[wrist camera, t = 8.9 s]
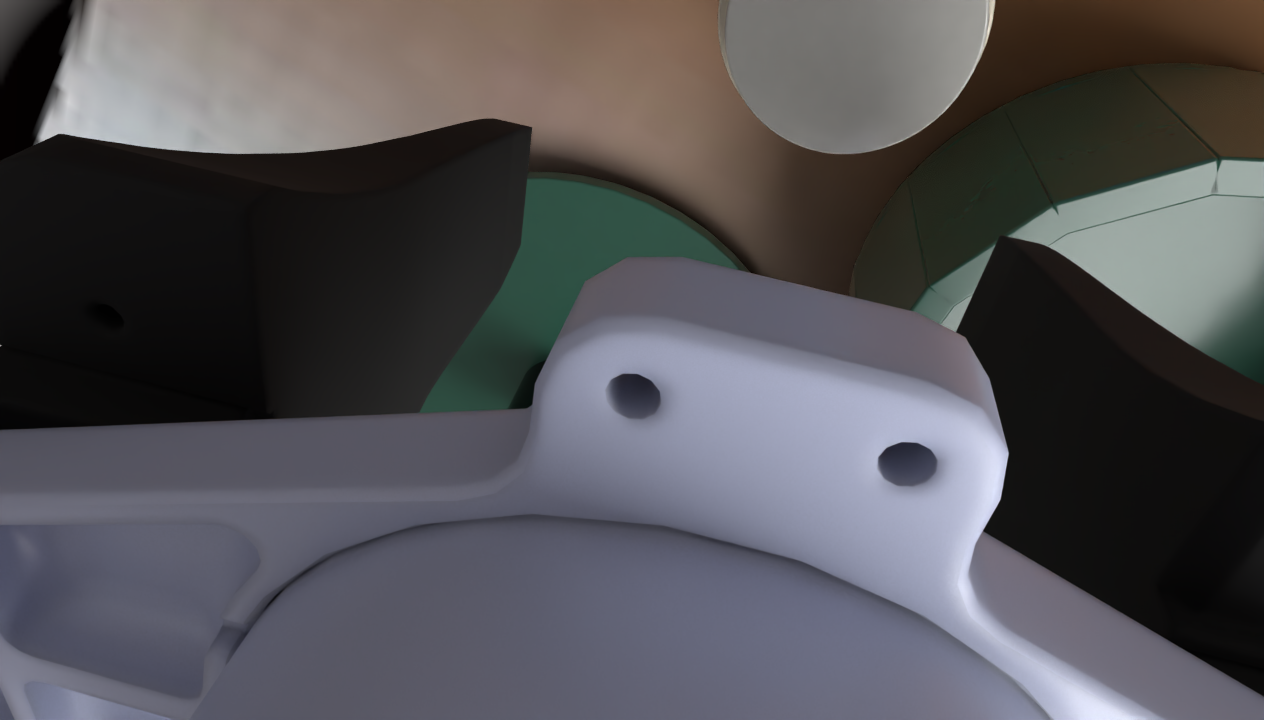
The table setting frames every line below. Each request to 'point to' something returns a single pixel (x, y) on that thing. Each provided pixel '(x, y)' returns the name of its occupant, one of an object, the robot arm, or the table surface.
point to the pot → (1098, 203)
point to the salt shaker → (851, 65)
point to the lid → (560, 282)
